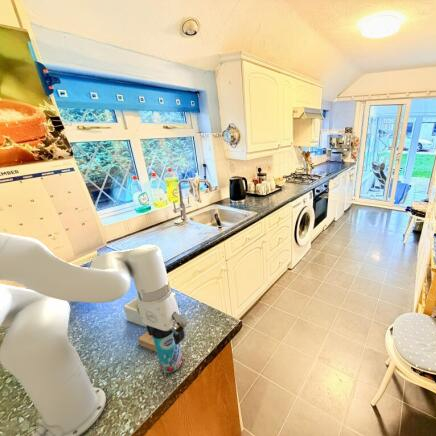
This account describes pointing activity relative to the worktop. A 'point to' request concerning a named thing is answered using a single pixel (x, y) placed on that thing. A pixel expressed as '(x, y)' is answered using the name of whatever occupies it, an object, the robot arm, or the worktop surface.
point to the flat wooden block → (149, 340)
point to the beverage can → (167, 350)
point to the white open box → (133, 313)
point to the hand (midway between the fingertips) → (167, 336)
